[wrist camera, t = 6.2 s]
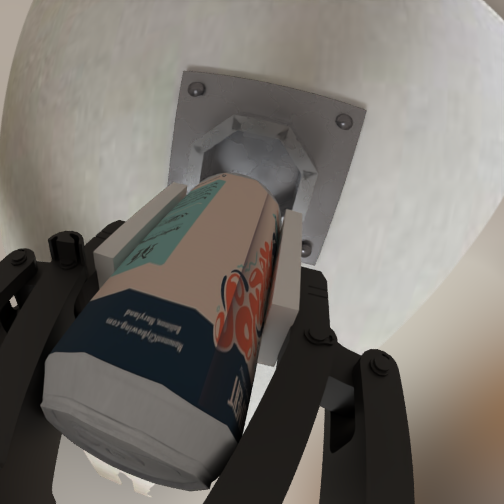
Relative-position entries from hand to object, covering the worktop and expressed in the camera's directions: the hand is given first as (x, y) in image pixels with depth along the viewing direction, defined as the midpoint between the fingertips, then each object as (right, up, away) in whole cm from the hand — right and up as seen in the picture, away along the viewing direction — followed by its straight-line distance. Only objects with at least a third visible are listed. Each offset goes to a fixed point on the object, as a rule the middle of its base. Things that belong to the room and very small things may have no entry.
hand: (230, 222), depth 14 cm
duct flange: (+1, +5, +9) cm, 10 cm away
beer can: (0, +1, +1) cm, 1 cm away
